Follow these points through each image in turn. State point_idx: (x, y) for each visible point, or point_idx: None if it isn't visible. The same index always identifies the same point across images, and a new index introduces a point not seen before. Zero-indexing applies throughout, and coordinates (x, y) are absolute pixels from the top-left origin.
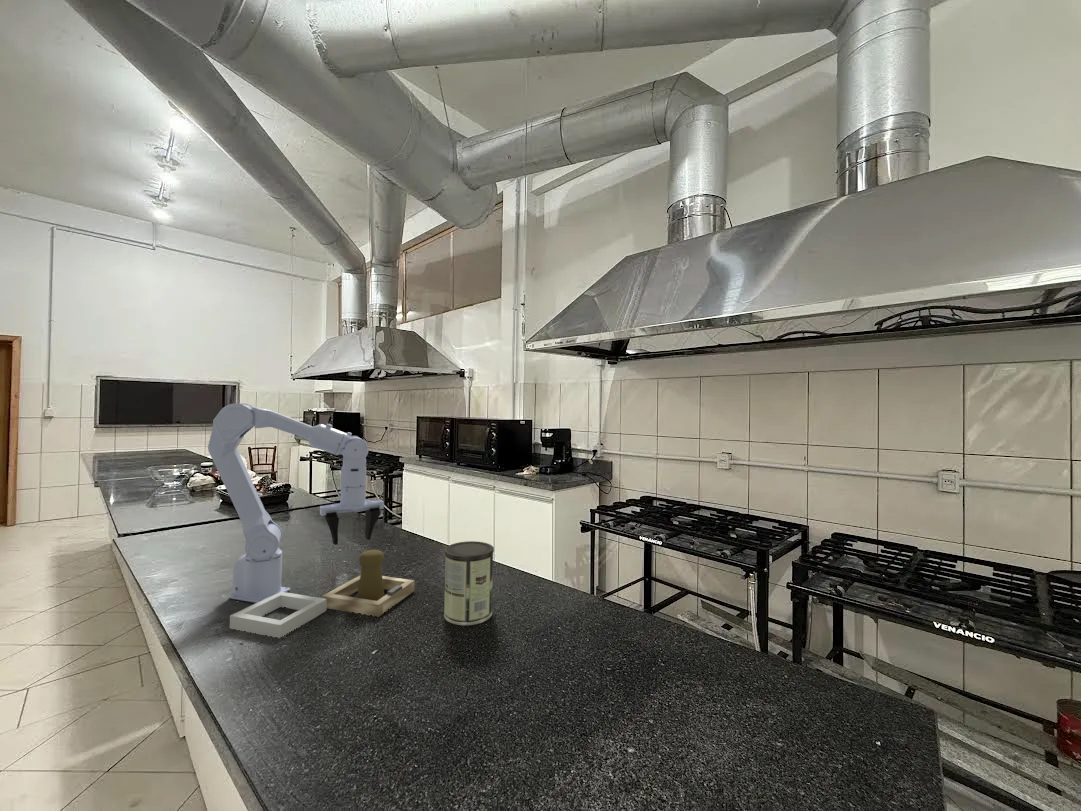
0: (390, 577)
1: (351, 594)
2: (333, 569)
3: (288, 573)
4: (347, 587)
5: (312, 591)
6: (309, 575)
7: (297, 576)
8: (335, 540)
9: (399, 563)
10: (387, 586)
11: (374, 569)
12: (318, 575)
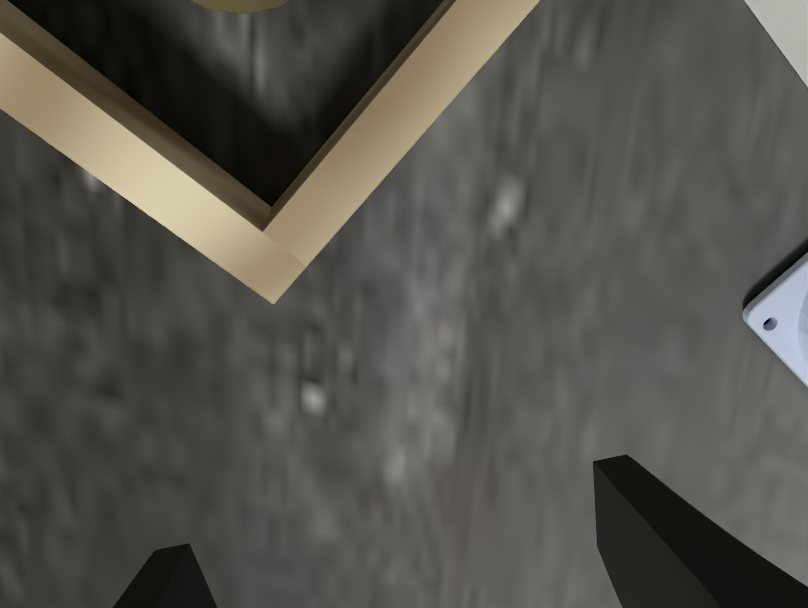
0: (20, 109)
1: (377, 81)
2: (459, 560)
3: None
4: (421, 41)
5: (621, 252)
6: None
7: None
8: (652, 487)
9: (26, 555)
10: (73, 63)
11: None
12: (551, 496)
